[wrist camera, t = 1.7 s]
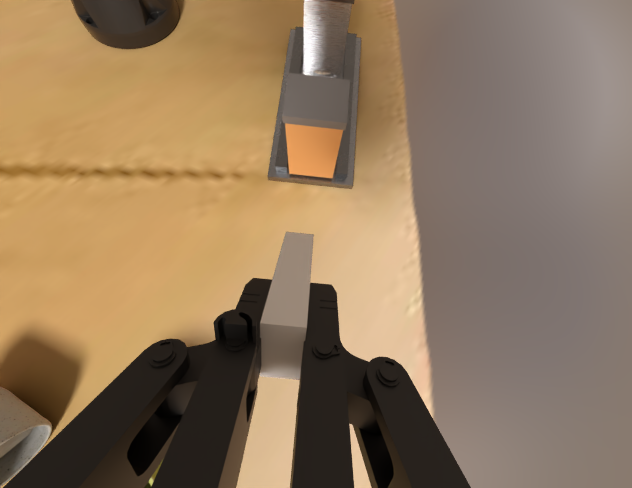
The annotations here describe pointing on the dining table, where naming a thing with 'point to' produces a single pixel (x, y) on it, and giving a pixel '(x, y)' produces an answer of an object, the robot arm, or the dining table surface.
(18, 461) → the ceramic mug
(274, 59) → the dining table surface
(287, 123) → the orange tall block
